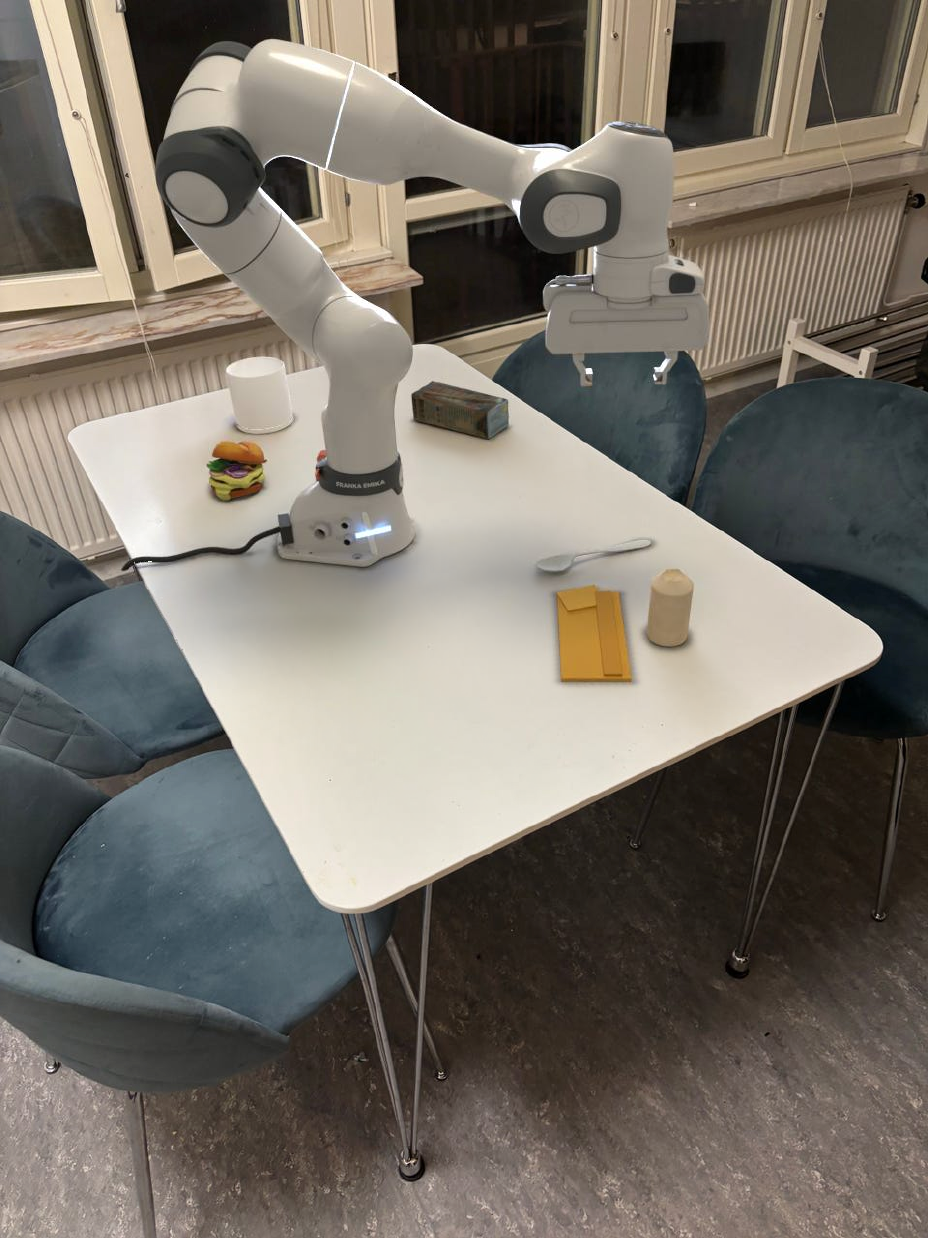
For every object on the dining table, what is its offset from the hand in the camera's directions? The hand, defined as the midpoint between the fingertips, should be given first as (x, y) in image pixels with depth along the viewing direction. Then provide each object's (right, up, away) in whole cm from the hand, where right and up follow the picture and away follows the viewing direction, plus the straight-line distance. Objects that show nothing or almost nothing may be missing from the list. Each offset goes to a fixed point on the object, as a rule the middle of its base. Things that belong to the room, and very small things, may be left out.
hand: (622, 383), depth 118 cm
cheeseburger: (-62, -7, +49) cm, 79 cm away
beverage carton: (-21, +9, +67) cm, 71 cm away
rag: (-3, -33, +8) cm, 34 cm away
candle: (+7, -33, +7) cm, 35 cm away
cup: (-62, +10, +72) cm, 96 cm away
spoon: (0, -21, +24) cm, 32 cm away
